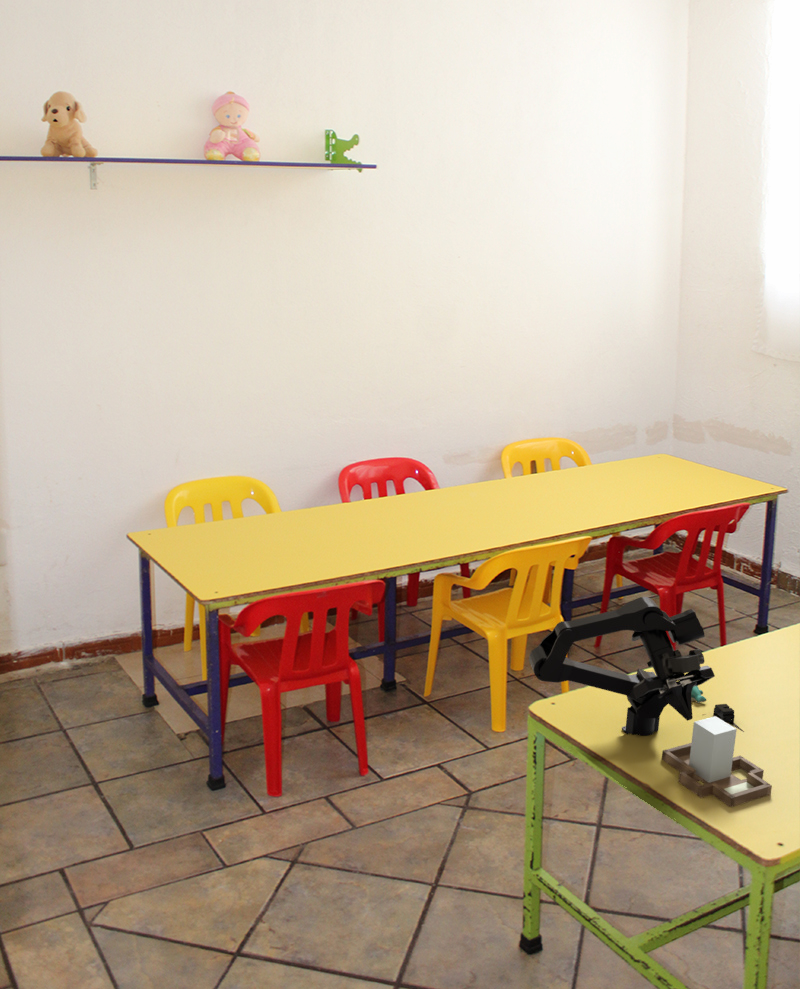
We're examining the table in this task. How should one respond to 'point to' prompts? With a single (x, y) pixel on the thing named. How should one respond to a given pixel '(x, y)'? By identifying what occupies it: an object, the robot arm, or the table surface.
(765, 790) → the brown compartment tray
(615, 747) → the table surface
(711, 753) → the block
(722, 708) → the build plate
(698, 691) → the whale figurine
